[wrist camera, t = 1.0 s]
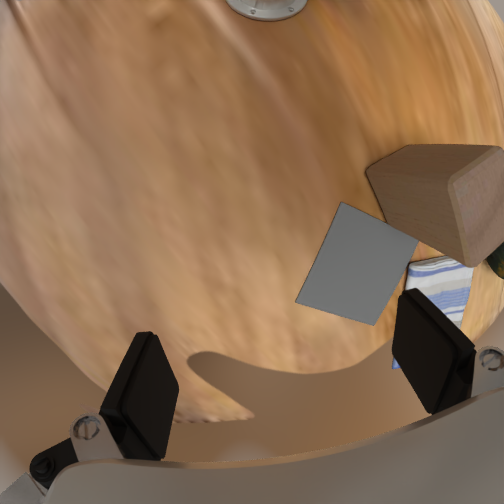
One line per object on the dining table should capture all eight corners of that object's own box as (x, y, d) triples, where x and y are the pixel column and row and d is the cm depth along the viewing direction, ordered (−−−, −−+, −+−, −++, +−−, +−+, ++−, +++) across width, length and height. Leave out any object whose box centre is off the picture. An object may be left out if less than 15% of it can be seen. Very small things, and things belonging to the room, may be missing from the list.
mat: (340, 201, 40) (341, 202, 39) (418, 239, 42) (419, 240, 42) (295, 301, 45) (295, 302, 44) (373, 325, 47) (373, 325, 47)
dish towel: (472, 248, 43) (481, 253, 40) (449, 346, 50) (455, 353, 48) (405, 258, 43) (414, 264, 40) (387, 365, 50) (393, 374, 48)
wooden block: (431, 198, 40) (521, 228, 20) (386, 227, 41) (472, 274, 22) (409, 142, 37) (505, 143, 18) (361, 169, 38) (451, 181, 19)
